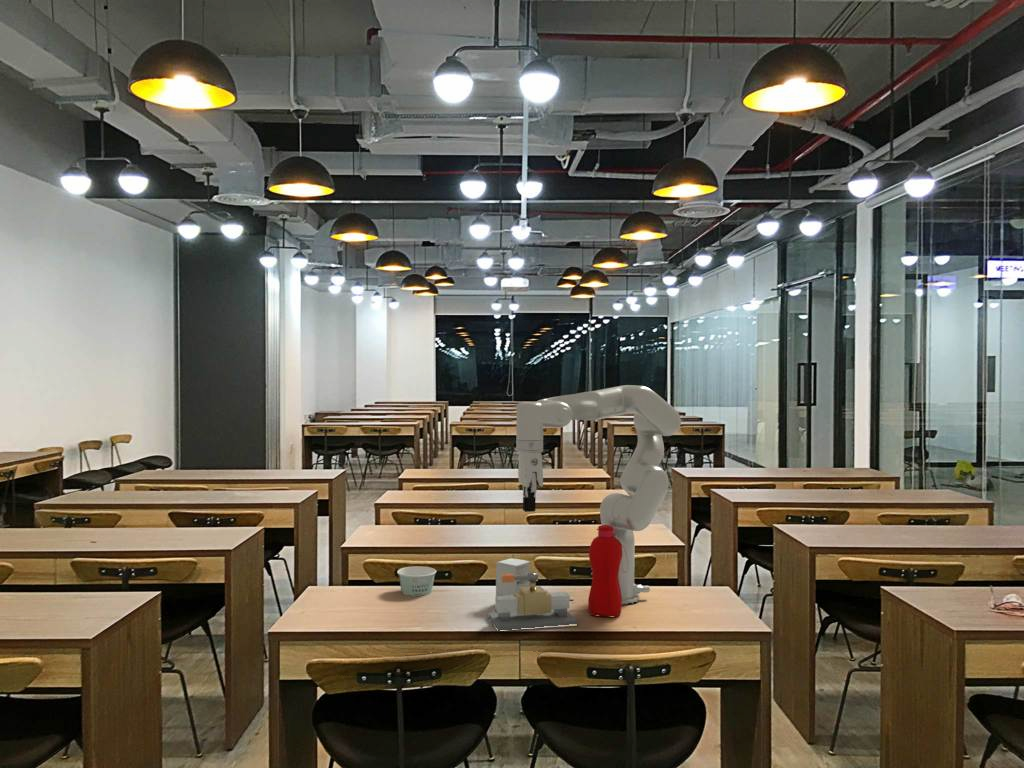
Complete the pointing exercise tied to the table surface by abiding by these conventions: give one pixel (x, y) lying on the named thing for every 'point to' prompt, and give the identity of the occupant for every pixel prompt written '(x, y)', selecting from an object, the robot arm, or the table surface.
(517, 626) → the mounting board
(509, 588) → the supplement box
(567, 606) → the pipe valve
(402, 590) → the food container
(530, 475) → the robot arm
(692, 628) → the table surface
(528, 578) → the valve lever
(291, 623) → the table surface
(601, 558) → the water bottle
